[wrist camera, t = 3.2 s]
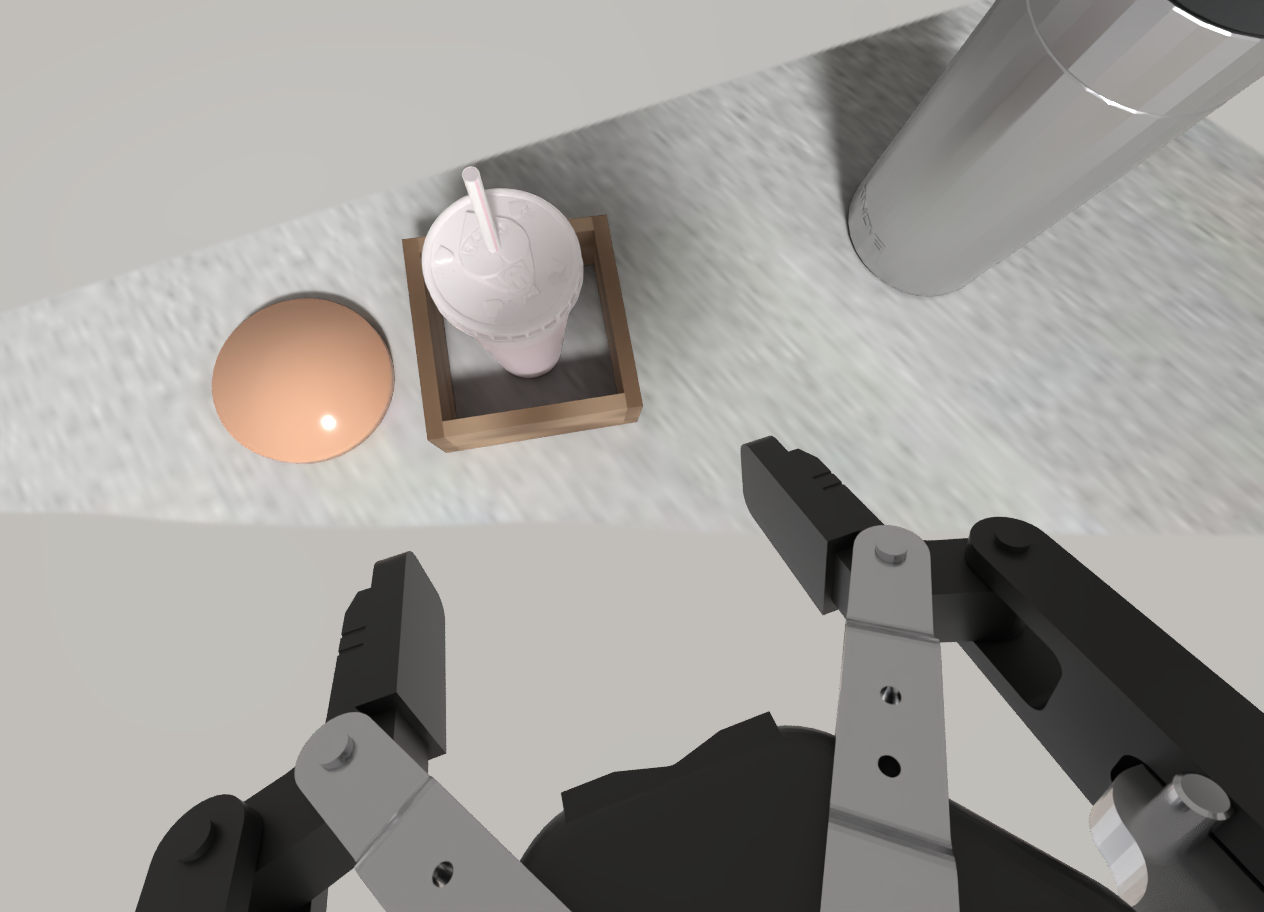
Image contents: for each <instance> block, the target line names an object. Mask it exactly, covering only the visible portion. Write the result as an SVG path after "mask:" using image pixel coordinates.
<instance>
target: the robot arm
mask: <svg viewBox="0 0 1264 912" xmlns="http://www.w3.org/2000/svg"><path fill="white" fill-rule="evenodd" d="M1262 76H1264V0H996V1H995V2H994V4H993V5H992V6H991V8H990V9H989V10H988V12H987V13H986V15H985V16H984V17H983V19H982V20H981V21H980V23H979V24H978V25H977V27H976V28H975V29H974V31H973V32H972V33H971V35H970V36H969V38H968V39H967V40H966V42H965V43H964V44H963V46H962V47H961V48H960V50H959V51H958V52H957V54H956V55H955V56H954V58H953V59H952V60H951V62H950V63H949V65H948V66H947V67H946V69H945V70H944V71H943V73H942V74H941V75H940V77H939V78H938V79H937V81H936V82H935V83H934V85H933V86H932V88H931V89H930V90H929V92H928V93H927V94H926V96H925V97H924V98H923V100H922V101H921V102H920V104H919V105H918V106H917V108H916V109H915V110H914V112H913V113H912V115H911V116H910V117H909V119H908V120H907V121H906V123H905V124H904V125H903V127H902V128H901V129H900V131H899V132H898V133H897V135H896V136H895V137H894V139H893V140H892V141H891V143H890V144H889V145H888V147H887V148H886V150H885V151H884V152H883V154H882V155H881V156H880V158H879V159H878V160H877V162H876V163H875V164H874V166H873V167H872V169H871V170H870V171H869V173H868V174H867V175H866V177H865V178H864V179H863V181H862V182H861V183H860V185H859V187H858V188H857V190H856V192H855V193H854V195H853V198H852V201H851V204H850V208H849V220H848V223H849V230H850V236H851V239H852V242H853V244H854V247H855V249H856V252H857V253H858V255H859V256H860V258H861V259H862V261H863V263H864V264H865V265H866V266H867V267H868V268H869V269H870V270H871V272H872V273H873V274H874V275H875V276H877V277H878V278H879V279H881V280H882V281H884V282H885V283H886V284H888V285H890V286H892V287H894V288H896V289H898V290H900V291H902V292H906V293H910V294H914V295H918V296H938V295H944V294H949V293H951V292H954V291H956V290H959V289H961V288H962V287H964V286H965V285H967V284H968V283H970V282H971V281H973V280H974V279H975V278H977V277H978V276H980V275H981V274H983V273H984V272H985V271H987V270H988V269H990V268H991V267H993V266H994V265H996V264H998V263H1000V262H1001V261H1003V260H1004V259H1005V258H1007V257H1008V256H1010V255H1011V254H1012V253H1014V252H1015V251H1017V250H1018V249H1020V248H1021V247H1022V246H1024V245H1025V244H1027V243H1028V242H1030V241H1031V240H1032V239H1034V238H1035V237H1037V236H1038V235H1040V234H1041V233H1042V232H1044V231H1045V230H1047V229H1048V228H1049V227H1051V226H1052V225H1054V224H1055V223H1057V222H1058V221H1059V220H1061V219H1062V218H1064V217H1065V216H1067V215H1068V214H1069V213H1071V212H1072V211H1074V210H1075V209H1077V208H1078V207H1079V206H1081V205H1082V204H1084V203H1085V202H1086V201H1088V200H1089V199H1091V198H1092V197H1094V196H1095V195H1096V194H1098V193H1099V192H1101V191H1102V190H1104V189H1105V188H1106V187H1108V186H1109V185H1111V184H1112V183H1113V182H1115V181H1116V180H1118V179H1119V178H1121V177H1122V176H1123V175H1125V174H1126V173H1128V172H1129V171H1131V170H1132V169H1133V168H1135V167H1136V166H1138V165H1139V164H1140V163H1141V162H1142V161H1144V160H1145V159H1147V158H1148V157H1149V156H1151V155H1152V154H1154V153H1155V152H1157V151H1158V150H1159V149H1161V148H1162V147H1164V146H1165V145H1166V144H1168V143H1169V142H1171V141H1172V140H1174V139H1175V138H1176V137H1178V136H1179V135H1181V134H1182V133H1184V132H1185V131H1186V130H1188V129H1189V128H1191V127H1192V126H1193V125H1195V124H1196V123H1198V122H1199V121H1201V120H1202V119H1203V118H1205V117H1206V116H1208V115H1209V114H1210V113H1212V112H1213V111H1215V110H1216V109H1218V108H1219V107H1220V106H1222V105H1223V104H1224V103H1226V102H1227V101H1228V100H1230V99H1231V98H1233V97H1234V96H1235V95H1237V94H1238V93H1240V92H1241V91H1242V90H1244V89H1245V88H1246V87H1248V86H1250V85H1251V84H1252V83H1253V82H1255V81H1256V80H1258V79H1259V78H1261V77H1262ZM741 466H742V481H743V494H744V498H745V502H746V505H747V507H748V509H749V511H750V513H751V515H752V517H753V518H754V519H755V521H756V522H757V524H758V525H759V526H760V528H761V529H762V531H763V532H764V533H765V535H766V536H767V538H768V539H769V540H770V542H771V543H772V545H773V546H774V547H775V549H776V550H777V551H778V553H779V554H780V556H781V557H782V559H783V560H784V561H785V563H786V564H787V566H788V567H789V568H790V570H791V571H792V573H793V574H794V575H795V577H796V578H797V580H798V581H799V582H800V584H801V585H802V586H803V588H804V589H805V591H806V592H807V594H808V595H809V597H810V598H811V599H812V601H813V602H814V604H815V605H816V606H817V608H818V609H819V611H820V612H821V613H822V615H825V614H827V613H830V612H833V611H835V610H838V609H839V611H840V612H841V613H842V615H844V617H845V618H846V624H845V634H844V646H843V656H842V666H841V677H840V688H839V699H838V708H837V719H836V729H835V736H834V735H832V734H829V733H827V732H824V731H820V730H817V729H813V728H808V727H802V726H786V725H785V726H777V725H776V723H775V721H774V719H773V717H772V716H771V714H770V712H766V713H764V714H761V715H758V716H756V717H753V718H751V719H748V720H746V721H743V722H740V723H738V724H735V725H733V726H730V727H728V728H725V729H723V730H720V731H719V732H717V733H716V734H715V735H713V736H712V737H711V738H709V739H708V740H707V741H706V742H704V743H703V744H701V745H700V746H699V747H698V748H696V749H695V750H693V751H692V752H691V753H689V754H688V755H687V756H685V757H684V758H683V759H681V760H680V761H679V762H677V763H676V764H674V765H671V766H667V767H658V768H649V769H638V770H628V771H619V772H613V773H610V774H608V775H605V776H602V777H600V778H597V779H595V780H592V781H590V782H587V783H585V784H582V785H580V786H577V787H574V788H572V789H569V790H567V791H564V792H562V793H561V795H562V802H563V808H564V810H563V811H562V812H561V813H559V814H558V815H557V816H556V817H555V818H553V819H552V820H551V821H550V822H549V823H548V824H547V825H546V826H545V827H544V828H543V829H542V830H541V832H540V833H539V834H538V835H537V836H536V837H535V839H534V840H533V841H532V843H531V844H530V846H529V847H528V849H527V850H526V852H525V853H524V855H523V857H522V858H521V860H520V861H519V860H518V859H517V858H516V857H515V856H513V855H512V853H511V852H510V851H508V850H507V849H506V848H505V847H504V846H503V845H502V844H501V843H500V842H499V841H498V840H497V839H496V838H495V837H494V836H493V835H492V834H491V833H490V832H489V831H488V830H487V829H486V828H485V827H484V826H483V825H482V824H481V823H480V822H479V821H478V820H477V819H475V818H474V817H473V815H472V814H470V813H469V812H468V811H467V810H466V809H465V808H464V807H463V806H462V805H461V804H460V803H459V802H458V801H457V800H456V799H455V798H454V797H453V796H452V795H451V794H450V793H449V792H448V791H447V790H446V789H445V788H444V787H443V786H442V785H441V784H439V782H438V781H436V780H435V779H434V778H433V777H431V776H429V775H428V760H430V759H433V758H435V757H438V756H441V755H443V754H446V687H445V686H446V682H445V681H446V679H445V616H444V610H443V606H442V602H441V599H440V597H439V595H438V593H437V591H436V589H435V588H434V586H433V584H432V583H431V581H430V579H429V578H428V576H427V574H426V573H425V571H424V569H423V568H422V566H421V564H420V563H419V561H418V559H417V558H416V556H415V555H414V554H413V553H412V552H411V551H408V552H405V553H402V554H399V555H396V556H393V557H390V558H387V559H384V560H380V561H377V562H376V563H375V565H374V569H373V577H372V584H371V588H369V589H365V590H362V591H359V592H358V593H357V594H356V596H355V598H354V599H353V601H352V603H351V604H350V606H349V608H348V609H347V611H346V613H345V617H344V622H343V628H342V638H341V639H340V645H339V656H337V662H336V668H335V673H334V679H333V684H332V690H331V696H330V702H329V708H328V713H327V718H326V722H325V724H324V725H322V726H321V727H320V728H319V729H318V730H317V731H316V732H315V733H314V734H313V735H312V736H311V737H310V739H309V740H308V741H307V742H306V743H305V745H304V747H303V748H302V750H301V752H300V754H299V756H298V759H297V762H296V766H295V767H294V768H293V769H292V770H290V771H289V772H288V773H286V774H285V775H283V776H282V777H280V778H279V779H277V780H276V781H275V782H273V783H272V784H270V785H268V786H267V787H265V788H264V789H262V790H261V791H259V792H258V793H256V794H255V795H253V796H252V797H251V798H249V799H247V800H246V801H244V802H243V801H241V800H240V799H238V798H237V797H235V796H233V795H226V794H223V795H217V796H214V797H211V798H209V799H207V800H205V801H202V802H201V803H199V804H198V805H196V806H194V807H193V808H192V809H190V810H189V811H188V812H187V813H185V814H184V815H183V816H182V817H181V818H180V819H179V820H178V821H177V822H176V823H175V824H174V825H173V826H172V827H171V828H170V830H169V831H168V832H167V834H166V835H165V836H164V838H163V839H162V841H161V842H160V844H159V846H158V847H157V850H156V851H155V853H154V856H153V858H152V861H151V864H150V867H149V870H148V873H147V876H146V880H145V883H144V886H143V889H142V892H141V895H140V898H139V901H138V905H137V908H136V911H135V912H326V907H327V895H328V887H329V886H330V885H332V884H333V883H335V882H336V881H337V880H339V878H341V877H342V876H344V875H345V874H346V873H347V872H349V871H350V870H352V869H353V868H355V870H356V872H357V874H358V875H359V877H360V878H361V879H362V881H363V882H364V883H365V885H366V886H367V887H368V888H369V890H370V891H371V892H372V894H373V895H374V896H375V898H376V899H377V900H378V902H379V903H380V904H381V906H382V907H383V908H384V909H385V911H386V912H1264V713H1263V712H1261V711H1260V710H1259V709H1258V708H1257V707H1256V706H1254V705H1253V704H1252V703H1251V702H1249V701H1248V700H1247V699H1246V698H1245V697H1243V696H1242V695H1241V694H1240V693H1239V692H1237V691H1236V690H1235V689H1234V688H1232V687H1231V686H1230V685H1229V684H1228V683H1226V682H1225V681H1224V680H1223V679H1221V678H1220V677H1219V676H1218V675H1217V674H1215V673H1214V672H1213V671H1212V670H1210V669H1209V668H1208V667H1207V666H1206V665H1204V664H1203V663H1202V662H1201V661H1200V660H1198V659H1197V658H1196V657H1195V656H1193V655H1192V654H1191V653H1190V652H1189V651H1187V650H1186V649H1185V648H1184V647H1183V646H1181V645H1180V644H1179V643H1178V642H1176V641H1175V640H1174V639H1173V638H1172V637H1170V636H1169V635H1168V634H1167V633H1166V632H1164V631H1163V630H1162V629H1161V628H1159V627H1158V626H1157V625H1156V624H1155V623H1153V622H1152V621H1151V620H1150V619H1149V618H1147V617H1146V616H1145V615H1144V614H1143V613H1141V612H1140V611H1139V610H1138V609H1136V608H1135V607H1134V606H1133V605H1132V604H1130V603H1129V602H1128V601H1127V600H1126V599H1124V598H1123V597H1122V596H1121V595H1119V594H1118V593H1117V592H1116V591H1115V590H1113V589H1112V588H1111V587H1110V586H1109V585H1107V584H1106V583H1105V582H1103V581H1102V580H1101V579H1100V578H1099V577H1098V576H1096V575H1095V574H1094V573H1093V572H1091V571H1090V570H1089V569H1088V568H1087V567H1085V566H1084V565H1083V564H1082V563H1081V562H1079V561H1078V560H1077V559H1076V558H1075V557H1073V556H1072V555H1071V554H1070V553H1068V552H1067V551H1066V550H1065V549H1063V548H1062V547H1061V546H1060V545H1059V544H1058V543H1056V542H1055V541H1054V540H1053V539H1051V538H1050V537H1049V536H1048V535H1047V534H1045V533H1044V532H1043V531H1041V530H1040V529H1039V528H1037V527H1035V526H1033V525H1032V524H1029V523H1027V522H1024V521H1021V520H1018V519H1014V518H1008V517H991V518H986V519H983V520H981V521H979V522H977V523H976V524H975V525H974V526H973V527H972V529H971V531H970V535H969V538H963V539H949V540H931V541H927V540H922V539H921V538H920V537H919V536H917V535H916V534H914V533H913V532H911V531H909V530H906V529H904V528H901V527H897V526H891V525H884V524H883V523H882V522H881V521H880V520H879V519H878V518H877V517H876V516H875V515H874V514H873V513H872V512H871V511H870V510H869V509H868V508H867V507H866V506H865V505H864V504H863V503H862V502H861V501H860V500H859V499H858V498H857V497H856V496H855V495H854V494H853V493H852V492H851V491H850V490H849V489H848V488H847V487H846V486H845V485H842V483H841V481H840V480H839V479H838V478H837V477H836V476H835V475H834V474H831V471H830V470H829V469H828V468H827V467H826V466H825V465H824V464H823V463H822V462H821V461H820V460H819V459H818V458H817V457H815V456H813V455H811V454H809V453H806V452H804V451H802V450H800V449H795V450H792V451H789V452H788V451H787V450H786V449H785V448H784V447H783V446H782V445H781V443H780V442H779V441H778V440H777V439H776V438H775V437H773V436H768V437H765V438H761V439H758V440H755V441H752V442H749V443H746V444H743V445H742V446H741ZM940 642H957V643H959V645H960V646H961V647H962V648H963V650H964V651H965V652H966V653H967V654H968V656H969V657H970V658H971V659H972V661H973V662H974V663H975V664H976V665H977V667H978V668H979V669H980V670H981V671H982V673H983V674H984V675H985V676H986V677H987V679H988V680H989V681H990V682H991V683H992V685H993V686H994V687H995V688H996V689H997V690H998V692H999V693H1000V694H1001V695H1002V697H1003V698H1004V699H1005V700H1006V701H1007V703H1008V704H1009V705H1010V706H1011V708H1012V709H1013V710H1014V711H1015V712H1016V714H1017V715H1018V716H1019V717H1020V718H1021V719H1022V721H1023V722H1024V723H1025V724H1026V726H1027V727H1028V728H1029V729H1030V730H1031V732H1032V733H1033V734H1034V735H1035V736H1036V738H1037V739H1038V740H1039V741H1040V742H1041V744H1042V745H1043V746H1044V747H1045V748H1046V750H1047V751H1048V752H1049V753H1050V755H1051V756H1052V757H1053V758H1054V759H1055V760H1056V762H1057V763H1058V764H1059V765H1060V767H1061V768H1062V769H1063V770H1064V771H1065V773H1066V774H1067V775H1068V776H1069V777H1070V779H1071V780H1072V781H1073V782H1074V783H1075V784H1076V786H1077V787H1078V788H1079V789H1080V791H1081V792H1082V793H1083V794H1084V795H1085V797H1086V798H1087V799H1088V800H1089V801H1090V803H1091V804H1092V805H1093V807H1092V809H1091V812H1090V815H1089V826H1090V832H1091V835H1092V838H1093V841H1094V843H1095V845H1096V847H1097V849H1098V850H1099V852H1100V853H1101V855H1102V857H1103V858H1104V860H1105V861H1106V863H1107V865H1108V867H1109V868H1110V870H1111V872H1112V874H1113V876H1114V878H1115V881H1116V884H1117V888H1118V894H1119V896H1118V895H1116V894H1115V893H1114V892H1112V891H1111V890H1109V889H1108V888H1106V887H1105V886H1103V885H1102V884H1100V883H1099V882H1097V881H1095V880H1093V879H1092V878H1090V877H1088V876H1086V875H1085V874H1083V873H1081V872H1079V871H1077V870H1076V869H1074V868H1072V867H1070V866H1068V865H1067V864H1065V863H1063V862H1061V861H1059V860H1058V859H1056V858H1054V857H1052V856H1051V855H1049V854H1047V853H1045V852H1043V851H1042V850H1040V849H1038V848H1036V847H1034V846H1033V845H1031V844H1029V843H1027V842H1026V841H1024V840H1022V839H1020V838H1018V837H1017V836H1015V835H1013V834H1011V833H1009V832H1008V831H1006V830H1004V829H1002V828H1000V827H999V826H997V825H995V824H993V823H992V822H990V821H988V820H986V819H985V818H983V817H981V816H979V815H977V814H975V813H974V812H972V811H970V810H969V809H966V808H965V807H963V806H961V805H960V804H958V803H956V802H954V801H952V800H951V799H949V798H948V779H947V760H946V740H945V722H944V701H943V683H942V662H941V647H940Z"/></svg>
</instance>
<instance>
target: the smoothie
mask: <svg viewBox="0 0 1264 912" xmlns="http://www.w3.org/2000/svg"><path fill="white" fill-rule="evenodd" d="M462 177H463V180H464V183H465V186H466V188H467V191H468V194H469V195H467V196H464V197H462V198H460V199H459V200H457V201H455V202H454V203H452V204H451V205H450V206H448V207H447V208H446V209H445V210H444V211H443V212H442V213H441V214H440V215H439V216H438V217H437V219H436V220H435V221H434V223H433V224H432V226H431V228H430V230H429V232H428V234H427V236H426V239H425V242H424V246H423V251H422V271H423V276H424V280H425V283H426V285H427V288H428V290H429V292H430V295H431V297H432V299H433V301H434V303H435V304H436V306H437V308H438V310H439V311H440V313H441V314H442V315H443V316H444V317H445V318H446V319H447V320H448V321H449V322H450V323H451V324H452V325H453V326H454V327H455V328H457V329H459V330H461V331H462V332H464V333H466V334H468V335H469V336H471V337H473V338H476V340H477V341H478V342H479V343H480V344H481V345H482V346H483V347H484V348H485V349H486V350H487V351H488V352H489V353H490V354H491V355H492V356H493V357H494V358H495V359H496V360H497V361H498V362H499V363H500V364H501V365H502V366H503V367H504V368H505V369H506V370H507V371H508V372H510V373H511V374H513V375H516V376H518V377H523V378H535V377H539V376H542V375H544V374H546V373H547V372H549V371H550V370H551V369H552V368H553V367H554V366H555V365H556V363H557V362H558V360H559V358H560V354H561V349H562V345H563V340H564V335H565V330H566V325H567V320H568V315H569V312H570V311H571V309H572V308H573V306H574V305H575V303H576V302H577V300H578V297H579V294H580V290H581V287H582V284H583V260H582V256H581V249H580V245H579V241H578V238H577V236H576V233H575V231H574V229H573V228H572V226H571V224H570V223H569V221H568V220H567V219H566V217H565V216H564V215H563V214H562V213H561V212H560V211H559V210H558V209H557V208H556V207H555V206H553V205H552V204H551V203H549V202H548V201H546V200H544V199H543V198H541V197H539V196H537V195H534V194H532V193H529V192H525V191H522V190H517V189H509V188H493V189H486V190H484V187H483V183H482V180H481V176H480V173H479V171H478V169H477V168H475V167H471V166H470V167H466V168H465V169H464V170H463V172H462Z"/></svg>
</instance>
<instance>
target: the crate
mask: <svg viewBox="0 0 1264 912" xmlns="http://www.w3.org/2000/svg"><path fill="white" fill-rule="evenodd" d="M567 220H568V221H569V223H570V224H571V226H572V228H573V229H574V231H575V233H576V236H577V238H578V241H579V245H580V249H581V256H582V260H583V265H591V264H594V269H595V274H596V280H597V285H598V290H599V296H600V301H601V307H602V312H603V317H604V323H605V328H606V334H607V339H608V345H609V350H610V355H611V361H612V366H613V372H614V377H615V382H616V388H617V393H618V394H615V395H608V396H602V397H595V398H589V399H583V400H576V401H570V402H563V403H557V404H551V405H544V406H538V407H531V408H525V409H519V410H512V411H506V412H500V413H493V414H487V415H480V416H474V417H468V418H461V419H457V417H456V410H455V402H454V395H453V388H452V380H451V373H450V366H449V358H448V351H447V344H446V336H445V329H444V322H443V315H442V314H441V313H440V311H439V310H438V308H437V306H436V304H435V303H434V301H433V299H432V297H431V295H430V292H429V290H428V288H427V285H426V283H425V280H424V276H423V271H422V251H423V246H424V242H425V239H426V237H418V238H410V239H402V244H403V251H404V259H405V267H406V275H407V283H408V291H409V299H410V306H411V314H412V322H413V330H414V338H415V346H416V354H417V361H418V369H419V377H420V385H421V393H422V401H423V409H424V416H425V424H426V432H427V440H428V441H430V442H431V443H433V444H434V445H435V446H437V447H438V448H440V449H441V450H443V451H444V452H446V453H448V452H454V451H460V450H466V449H473V448H479V447H485V446H491V445H497V444H503V443H510V442H516V441H522V440H528V439H534V438H540V437H547V436H553V435H559V434H565V433H571V432H577V431H584V430H590V429H596V428H602V427H608V426H614V425H620V424H627V423H633V422H637V421H638V418H639V415H640V413H641V410H642V407H643V403H642V398H641V393H640V387H639V382H638V377H637V372H636V367H635V361H634V356H633V351H632V346H631V340H630V335H629V330H628V325H627V319H626V314H625V309H624V304H623V299H622V293H621V288H620V283H619V278H618V272H617V267H616V262H615V257H614V252H613V246H612V241H611V236H610V231H609V225H608V220H607V215H599V216H590V217H582V218H574V219H567Z"/></svg>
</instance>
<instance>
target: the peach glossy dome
mask: <svg viewBox="0 0 1264 912" xmlns="http://www.w3.org/2000/svg"><path fill="white" fill-rule="evenodd" d="M394 381H395V380H394V367H393V362H392V358H391V355H390V353H389V350H388V348H387V346H386V344H385V342H384V341H383V339H382V338H381V336H380V335H379V334H378V333H377V331H376V330H375V329H374V328H373V327H372V326H371V325H370V324H369V323H368V322H367V321H366V320H365V319H364V318H362V317H361V316H360V315H359V314H357V313H356V312H354V311H352V310H351V309H349V308H347V307H345V306H342V305H340V304H337V303H334V302H331V301H327V300H321V299H309V298H304V299H293V300H288V301H283V302H280V303H276V304H273V305H271V306H268V307H266V308H264V309H262V310H260V311H258V312H257V313H255V314H253V315H252V316H250V317H249V318H248V319H246V320H245V321H244V322H242V323H241V324H240V325H239V326H238V327H237V328H236V329H235V330H234V331H233V333H232V334H231V335H230V336H229V338H228V339H227V340H226V342H225V344H224V345H223V347H222V349H221V351H220V353H219V355H218V357H217V360H216V364H215V367H214V371H213V378H212V394H213V401H214V404H215V408H216V411H217V413H218V416H219V418H220V420H221V422H222V423H223V425H224V426H225V428H226V429H227V431H228V432H229V433H230V434H231V435H232V436H233V437H234V439H236V440H237V441H238V442H239V443H241V444H242V445H243V446H245V447H246V448H248V449H249V450H251V451H253V452H255V453H257V454H260V455H262V456H265V457H268V458H272V459H275V460H278V461H282V462H288V463H296V464H308V463H317V462H322V461H326V460H330V459H333V458H336V457H339V456H341V455H343V454H345V453H347V452H349V451H351V450H352V449H354V448H355V447H357V446H358V445H360V444H361V443H362V442H363V441H364V440H366V439H367V438H368V437H369V436H370V435H371V434H372V433H373V432H374V431H375V429H376V428H377V427H378V425H379V424H380V423H381V421H382V420H383V418H384V416H385V414H386V412H387V410H388V408H389V405H390V403H391V399H392V395H393V391H394Z"/></svg>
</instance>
